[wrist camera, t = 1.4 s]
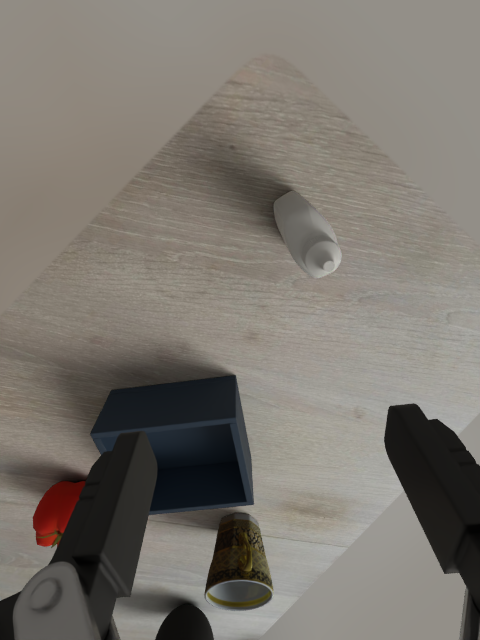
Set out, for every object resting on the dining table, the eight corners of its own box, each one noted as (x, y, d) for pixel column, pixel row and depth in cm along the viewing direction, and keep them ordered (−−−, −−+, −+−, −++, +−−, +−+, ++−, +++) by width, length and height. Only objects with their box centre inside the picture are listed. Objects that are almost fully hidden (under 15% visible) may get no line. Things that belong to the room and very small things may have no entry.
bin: (111, 390, 40) (89, 434, 34) (235, 374, 39) (236, 417, 33) (146, 469, 47) (134, 516, 42) (251, 458, 47) (253, 505, 41)
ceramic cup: (260, 541, 58) (265, 613, 49) (205, 537, 57) (200, 609, 48) (278, 499, 52) (286, 572, 43) (216, 493, 51) (212, 567, 42)
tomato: (45, 469, 47) (15, 523, 41) (107, 471, 48) (87, 524, 41) (58, 506, 52) (32, 560, 45) (114, 508, 52) (97, 561, 46)
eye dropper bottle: (271, 251, 31) (291, 308, 21) (273, 190, 29) (295, 220, 18) (316, 250, 31) (358, 306, 21) (322, 188, 29) (372, 217, 18)
